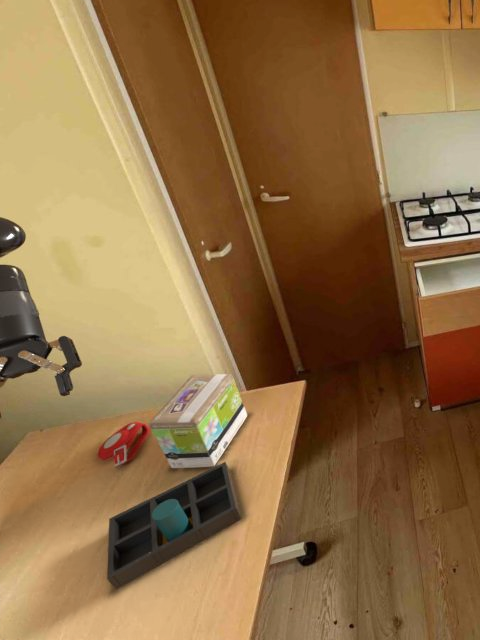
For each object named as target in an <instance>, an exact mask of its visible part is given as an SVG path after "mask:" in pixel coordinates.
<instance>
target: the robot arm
mask: <svg viewBox="0 0 480 640" xmlns="http://www.w3.org/2000/svg"><path fill="white" fill-rule="evenodd" d="M26 235H27V234H26V232H25V230H24V229H23V228H22V226H20V225H19V224H17V222H15V221H12V220H10V219H8V218H6V217H2V216H0V259H1V258H3V257H5V256H7V255H9V254H11V253H13V252H15V251H16V250H18V249H19V248H21V247H22V246H23V245H24V244H25V242H26V239H27V236H26ZM53 349H56V350H57V351H59V352H62V353H63V356H64V358H65V361H66V363H64V364H62V365H61V364H59V363H56V362H54V361H52V360H49V359H48V357H49V356H50V354H51V352H52V351H53ZM81 366H83V363H82V359H81V357H80V355H79V352H78V350H77V347H76V345H75V343H74V340H73V339H72V338H70V337H68V336H66V335H61V336H59V337H58V339H55V340H51V341H49V342H48V340H47V338H46V334H45V332H44V327H43V325H42V321H41V318H40V312H39V309H38V308H37V305H36V303H35V301H34V299H33V297H32V295H31V290H30V288H29V284H28V281H27V278H26V275H25V273H24V271H23V270H22V269H21V268H19V267H18V266H16V265H11V264H0V388H2V387H3V386H4V385H5V384H6V383H7V380H9V379H12V380H14V379H17V378H20V377H21V376H24V375H26V374H33V373H35V372H38V371H39V370H40V369H41V368H44V369H46V370H49V371H51V372H53V373H55V374H56V375H54V378H55V382H56V385H57V389H58V393H59V395H60V396H61V397H68V396H70V395H71V391H73V389H74V385H73V382H72V378H71V372H72V371H74V370H75V369H78V368H80V367H81ZM0 419H2V414H1V412H0Z"/></svg>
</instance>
